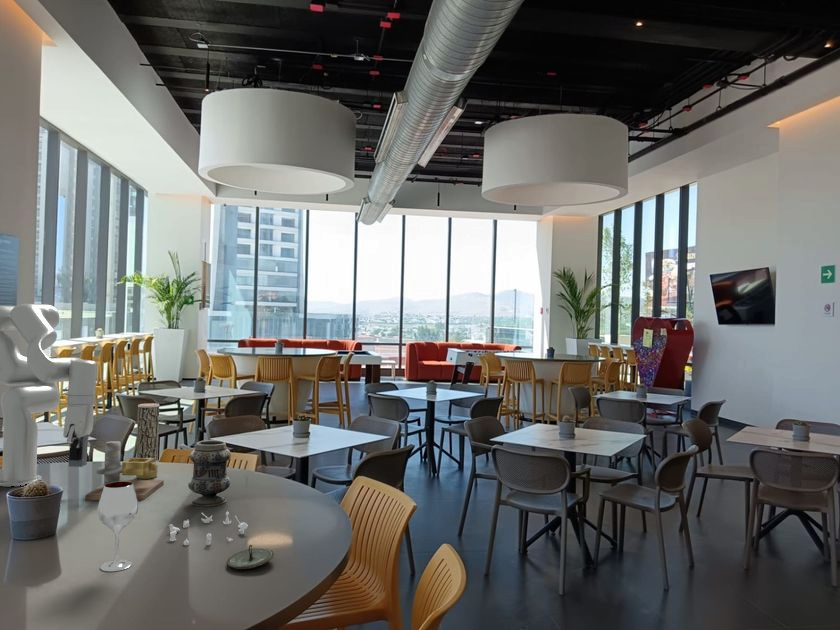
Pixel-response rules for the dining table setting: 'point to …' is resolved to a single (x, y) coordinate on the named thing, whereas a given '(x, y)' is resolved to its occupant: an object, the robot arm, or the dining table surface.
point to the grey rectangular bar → (83, 453)
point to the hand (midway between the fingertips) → (77, 458)
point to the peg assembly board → (125, 472)
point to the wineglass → (117, 516)
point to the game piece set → (186, 542)
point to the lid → (250, 558)
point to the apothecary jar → (209, 472)
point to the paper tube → (148, 434)
